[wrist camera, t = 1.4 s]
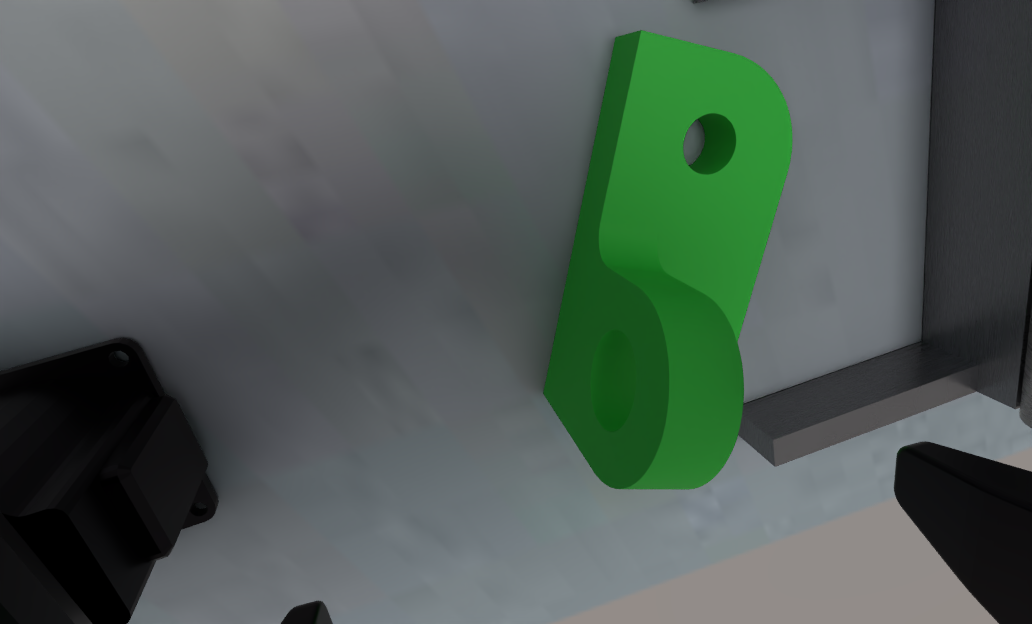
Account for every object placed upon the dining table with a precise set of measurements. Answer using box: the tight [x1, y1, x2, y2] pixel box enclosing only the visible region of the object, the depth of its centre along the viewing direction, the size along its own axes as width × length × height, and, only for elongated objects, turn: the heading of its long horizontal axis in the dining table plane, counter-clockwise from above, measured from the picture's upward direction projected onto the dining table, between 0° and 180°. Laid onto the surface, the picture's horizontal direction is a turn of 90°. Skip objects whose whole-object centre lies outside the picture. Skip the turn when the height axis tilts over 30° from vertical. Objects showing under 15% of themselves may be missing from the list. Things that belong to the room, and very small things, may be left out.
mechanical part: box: [543, 30, 792, 489], centre depth 17 cm, size 12×6×8 cm, turn 170°
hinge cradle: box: [693, 0, 1032, 467], centre depth 19 cm, size 15×17×6 cm
